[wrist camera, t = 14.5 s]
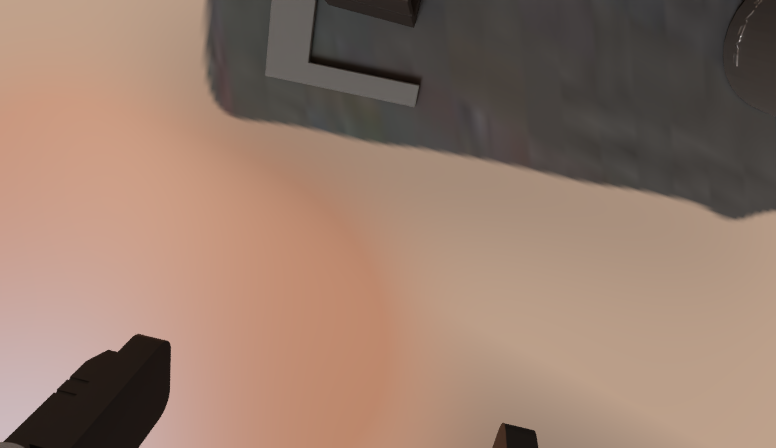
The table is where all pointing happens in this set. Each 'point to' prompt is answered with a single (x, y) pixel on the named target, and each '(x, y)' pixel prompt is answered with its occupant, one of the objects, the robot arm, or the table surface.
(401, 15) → the phone stand
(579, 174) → the table surface
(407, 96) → the bracket
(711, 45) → the table surface
